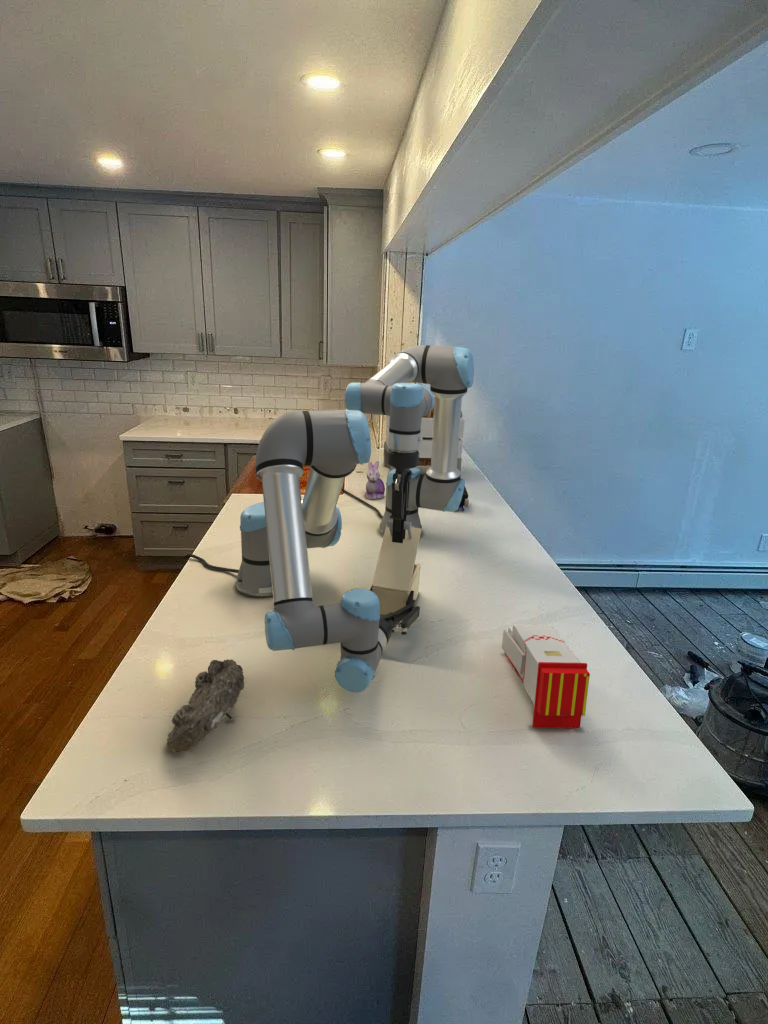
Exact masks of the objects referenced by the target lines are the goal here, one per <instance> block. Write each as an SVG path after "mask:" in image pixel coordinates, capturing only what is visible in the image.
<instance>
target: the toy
mask: <svg viewBox="0 0 768 1024" xmlns="http://www.w3.org/2000/svg"><path fill="white" fill-rule="evenodd" d="M507 629H508V630H507ZM507 629H503V633H502V640H501V649H502V650H503V652H504V656H505V657H506V659H507V660H508V662H509V664H510V665H511V667H512V669H513V671H514V672H515V673H516V675H517V676H518V678H519V679H520V681H521V683H522V684H523V687H524V688H525V690H526V692H527V694H528V696H529V698H530V700H531V702H532V704H533V715H532V726H531V727H532V728H533V729H581V723H582V717H585V716H586V710H587V701H588V695H589V694H588V693H589V685H590V677H591V674H590V672H589V671H588V663H587V662H581V660H580V659H579V658H578V657H577V655H576V654H575V652H573V651H572V649H571V647H570V646H569V645H568V644H567V643H566V641H565V640H564V639H563V638H562V636H561V635H560V634H559V632H558V630H556V629H555V627H554V626H553V624H539V623H538V624H536V623H535V624H532V623H531V624H530V623H512V625H511V626H510V625H508V628H507Z"/></svg>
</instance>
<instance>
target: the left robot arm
mask: <svg viewBox="0 0 768 1024" xmlns="http://www.w3.org/2000/svg"><path fill="white" fill-rule="evenodd" d="M257 445H258V446H257V449H256V454H255V461H254V462H255V463H254V465H255V477H256V479H257V480H258V481H260V482H261V485H262V486H261V487H262V497H263V498H262V499H263V501H262V502H257V503H254V504H251V505H249V506H247V507H245V508H244V509H243V510H242V511H241V513H240V520H239V521H240V523H239V524H240V525H239V531H240V543H241V545H240V546H241V563H240V566H239V569H236V568H227V567H223V566H217V565H216V566H215V565H211V564H209V563H208V562H207V561H206V560H205V559H204V558H202V557H200V556H198V555H196V554H194V553H193V554H192V553H187V554H185V555H184V556H183V557H182V558H183V559H188V558H193V559H196V560H197V561H199V562H202V564H203V565H204V566H205V567H207V568H209V569H212V570H217V571H224V572H228V573H236V574H237V576H236V579H235V580H236V581H235V586H236V589H237V591H238V592H239V593H241V594H243V595H245V596H247V597H248V596H249V597H253V598H269V597H272V602H273V610H271V611H270V610H269V611H267V612H266V613H265V614H264V634H265V641H266V646H267V648H268V649H269V650H271V651H273V652H279V651H289V650H292V651H295V650H297V649H304V648H312V647H317V646H325V645H326V646H327V645H334V644H340V657H339V660H338V661H337V662H336V666H335V669H334V679H335V682H336V684H337V685H338V686H339V687H340V689H342V690H344V691H346V692H347V693H353V694H354V693H355V694H358V693H362V692H365V691H366V690H367V689H368V688H369V686H370V685H371V683H372V681H373V680H374V678H375V674H376V672H377V670H378V668H379V665H380V662H381V659H382V657H383V655H384V652H385V650H386V648H387V646H388V644H389V641H390V638H391V636H392V634H393V633H395V632H400V634H401V635H402V636H404V635H405V636H406V635H407V632H408V630H409V628H410V627H411V626H412V625H414V623H416V621H417V620H418V619H419V618H420V617H421V616H420V614H421V613H420V612H421V606H419V605H416V601H415V600H413V597H414V591H411V592H410V594H409V596H408V599H407V601H406V606H405V607H403V608H401V609H399V610H397V611H395V612H394V613H392V612H390V613H388V614H387V615H381V614H380V608H379V599H378V597H377V595H376V594H375V593H374V592H372V588H373V587H372V586H371V587H370V589H367V588H351V589H350V590H346V591H345V592H343V594H342V595H341V599H340V602H339V603H331V604H323V605H315V604H314V600H313V598H314V597H313V589H312V580H311V572H310V571H311V569H310V562H309V553H308V549H315V548H316V549H317V548H319V549H320V548H322V549H325V548H328V547H333V546H335V545H337V544H338V543H339V541H340V539H341V535H342V531H341V530H342V529H343V519H342V514H341V511H340V508H339V507H338V506H337V504H338V502H339V498H340V496H341V493H342V490H341V489H343V487H344V483H345V480H346V478H347V477H349V476H351V475H352V473H354V471H355V470H356V469H357V468H356V467H357V465H361V466H362V465H363V464H368V463H369V462H370V461H371V456H372V441H371V431H370V427H369V423H368V418H367V416H366V415H365V413H362V412H361V411H357V410H348V409H347V408H346V409H321V410H318V409H317V410H301V409H300V410H299V409H298V410H297V409H296V410H291V411H286V412H285V413H283V414H281V415H279V416H277V417H276V418H275V419H274V420H273V421H272V422H271V423H270V424H269V425H268V427H267V428H266V429H265V431H264V432H263V434H262V436H261V438H260V440H259V443H258V444H257ZM308 466H309V467H310V468H309V472H308V476H307V481H306V486H305V490H304V495H303V498H302V492H301V490H302V489H301V483H300V479H301V478H302V476H303V475H304V467H308ZM402 620H403V621H402ZM399 622H400V623H399Z"/></svg>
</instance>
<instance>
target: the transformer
mask: <svg viewBox="0 0 768 1024" xmlns="http://www.w3.org/2000/svg"><path fill="white" fill-rule="evenodd" d="M434 399H435V396H434ZM433 418H434V406H433V408H432V409H431V411H430V412H429V413H428V415H426V416H424V417H422V418H421V431H420V436H419V437H422V441H420V444H419V449H418V452H419V463H418V466H417V467H431V455H432V437H433ZM389 422H390V416H387V415H385V423H386V428H385V438H384V442H383V466H384V467H388V468H389V472H390V471H391V470H393V469H395V468H394V467H391V466H389V465H388V463H387V462H388V450H389V449H390V448H389V447H388V437H389ZM464 429H465V419H464V418H463V411H461V417H460V430H459V444H458V457H457V469H458V470H459V471H460V472H462V461H463V460H462V453H463V442H464V441H463V440H462V439H463V438H464V431H465V430H464Z"/></svg>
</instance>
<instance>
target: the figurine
mask: <svg viewBox="0 0 768 1024" xmlns="http://www.w3.org/2000/svg"><path fill="white" fill-rule="evenodd" d="M367 465H368V471H367V473H366V478H367V482H366V484H365V491H366V492H365V496H364V497H366V499H368V500H377V499H378V500H379V499H382V498H384V497H385V493H386V485H385V483H384V481H383V480H382V479H381V473H380V471H379V466H380V461H379V460H377V461H376V462H375V463H374V464H373V462H372V461H369V462H368V463H367Z"/></svg>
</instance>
